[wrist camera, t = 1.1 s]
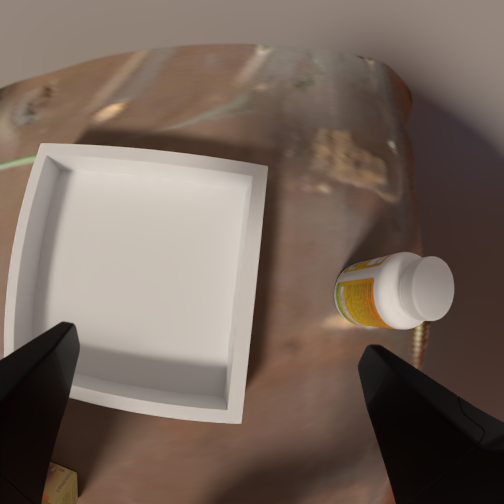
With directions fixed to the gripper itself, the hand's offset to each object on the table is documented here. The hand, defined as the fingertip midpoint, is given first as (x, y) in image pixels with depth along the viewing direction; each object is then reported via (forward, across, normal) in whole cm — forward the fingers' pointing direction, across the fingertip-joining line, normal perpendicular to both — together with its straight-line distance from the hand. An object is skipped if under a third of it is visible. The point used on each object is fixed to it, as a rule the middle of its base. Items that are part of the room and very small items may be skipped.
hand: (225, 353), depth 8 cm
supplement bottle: (+14, -13, +6) cm, 20 cm away
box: (+14, +6, +6) cm, 16 cm away
